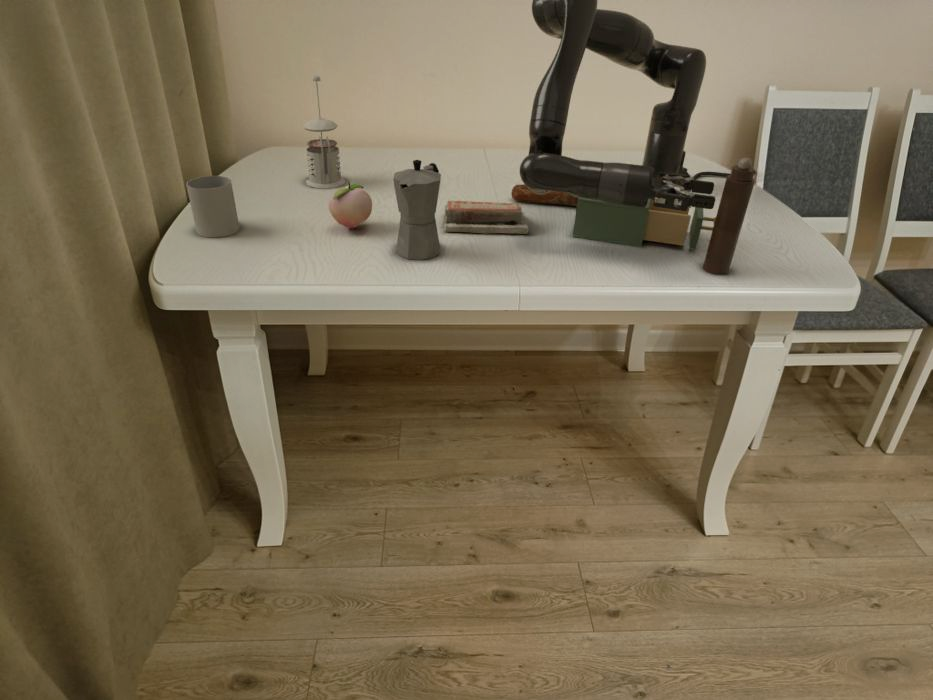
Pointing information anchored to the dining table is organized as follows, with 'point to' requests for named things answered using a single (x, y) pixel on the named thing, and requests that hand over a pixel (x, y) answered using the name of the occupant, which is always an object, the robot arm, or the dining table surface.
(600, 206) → the cabinet
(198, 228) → the cup
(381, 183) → the dining table surface
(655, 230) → the drawer
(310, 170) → the french press
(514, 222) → the packaged product
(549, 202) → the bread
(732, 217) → the pepper mill
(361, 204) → the decorative fruit
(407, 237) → the coffeepot
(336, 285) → the dining table surface
